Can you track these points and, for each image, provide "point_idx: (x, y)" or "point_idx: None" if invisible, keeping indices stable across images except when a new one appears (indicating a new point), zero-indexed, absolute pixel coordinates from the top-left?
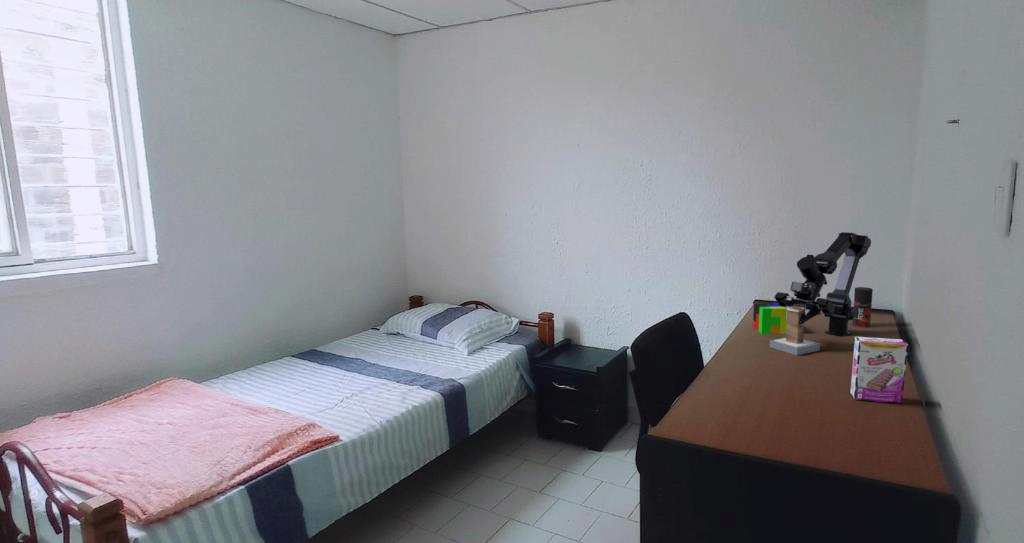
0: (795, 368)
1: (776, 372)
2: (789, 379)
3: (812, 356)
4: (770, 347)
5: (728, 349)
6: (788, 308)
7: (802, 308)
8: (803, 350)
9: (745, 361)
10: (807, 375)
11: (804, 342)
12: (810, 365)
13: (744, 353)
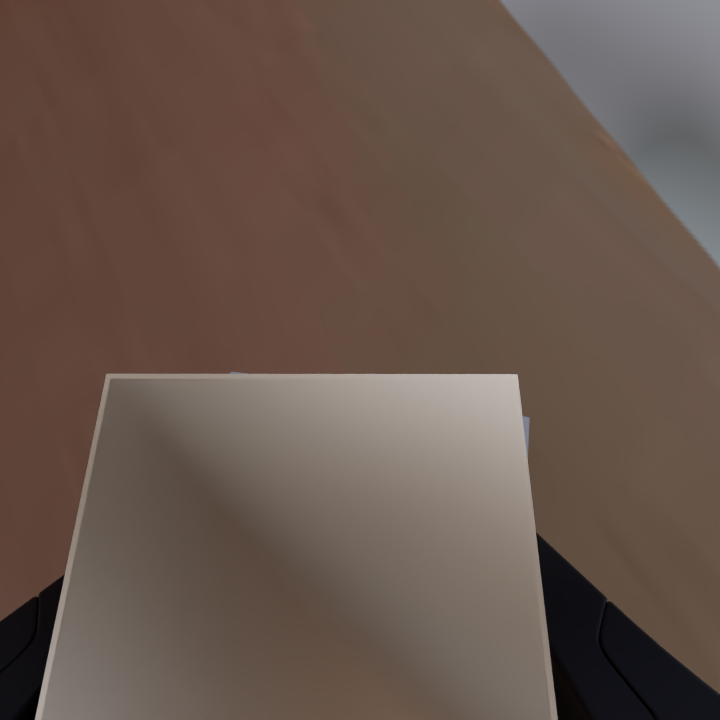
0: (142, 158)
1: (191, 52)
2: (103, 21)
3: None
4: None
5: (632, 177)
6: (462, 379)
7: (67, 703)
8: None
9: (401, 77)
10: (51, 112)
11: None
12: (92, 262)
13: (509, 181)
